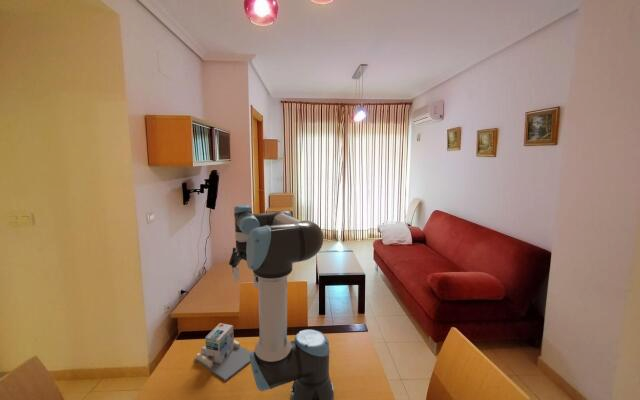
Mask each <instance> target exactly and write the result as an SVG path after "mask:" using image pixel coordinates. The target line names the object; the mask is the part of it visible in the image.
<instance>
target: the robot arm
mask: <svg viewBox="0 0 640 400" xmlns="http://www.w3.org/2000/svg"><path fill="white" fill-rule="evenodd" d="M233 208H234V209H233V210H234V211H233V215H234V230H235V231H234V236H235V237H234V239H235V247H232V253H231V256H230V259H229V263H228V265H229V266H231V268H232V274H233V282H237V281H239V280H240V267H239V264H240V262H241V261H242V260H244V261H245V262H246V264H247V267H248V269H249V270H252V273H253V288H254V290H256V289H258V290H257V291H258V328H259V329H258V330H259V332H258V333H259V339H258V340H257V342H256V344H255V346H254V350H253V351H251V352H252V353H250V355H249V356H250V366H251V371H252V375H253V378H254V381H255V385H256V389H257V390H258V391H261V392H264V391H265V392H266V391H268V390H272V389H275V388H277V387H279V386H280V387H281V386H283V385H286V384H288V383H289V384H290V383H292V382H293V383H292V385H291V390H290V398H291V400H334V398H335V397H334V395H335V389H334V386H333V382H332V381H331V377H330V353H331V352H330V342H329V339H328V337H327V335H325V334H324V333H323V332H321V331H319V330H315V329H309V328H308V329H303V330H300V331H298V332H297V333H296V335H295V337H294V340H292V341H290V339H289V338H288V335H287V334H288V331H287V330H288V276H289V275H291V274H292V271H293V264H294V263H300V262H305V261H308V260H310V259H312V258H313V257H315V256H316V255H317V254H318V253H319V252H320V250H321V249H322V246H323V245H324V244H323V243H324V233H323V230H322V229H321V227H320V226H319V225H318V224H316V222H312V221H310V220H308V219H307V220H306V219H305V220H300V219H297V218H295V217H293V215H292V213H291V212H290V211H288V210H281V211H274V212H271V211H270V212H263V213H262V212H261V213H253V210H252V206H251V205H250V204H238V205H235V206H234V207H233Z"/></svg>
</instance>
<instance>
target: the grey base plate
mask: <svg viewBox="0 0 640 400" xmlns="http://www.w3.org/2000/svg"><path fill="white" fill-rule="evenodd" d="M200 351H201V353H200V352H198V353H196V357H194V358H193V359H194V360H193V361H195V362H196V363H198V364H200V365H201V366H202V367H203V368H205V369H207V370H208V371H210V372H211V373H213V374H214V375H215V376H217V377H218V378H219V379H221V380H223V381H224V382H227V381H228V380H229V379H231V378H232V377H234V375H236V374H237V373H239V372H240V371H241V370H242V369H244V368H245V367H246V366H248V365H249V364H251V362H250V356H249V355H250V353H252V352H253V351H250V350H249V349H246V348H245V347H243V346H241V343H240V342H239V341H237V340H236V339H234V349H233V350H232V351H231V352H230V353H229V355H228V356H227V357H226V358H225V359H224V361H223V362H222V363H221V364H219V363H215V362H213V361H211V360H209V359H208V358H207V352H206V345H205V346H202V347H200Z"/></svg>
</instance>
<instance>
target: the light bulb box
mask: <svg viewBox="0 0 640 400" xmlns="http://www.w3.org/2000/svg"><path fill="white" fill-rule="evenodd" d="M234 336H235V335H234V325H232V324H227V323H222V322H220V323H218V325H216V326H215V327H214V328H213V329H212V330H211V331H210V332H209V333H208V334H207V335H206V336H205V337H204V338H205V347H206V352H207V358H208V359H209V360H211V361H213V362H215V363H219V364H221V363H222V362H223V361H224V359H225V358H226V357H227V356H228V355H229V353H230V352H231V351H232V350H233V349H234V340H235V339H234V338H235V337H234Z"/></svg>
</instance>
